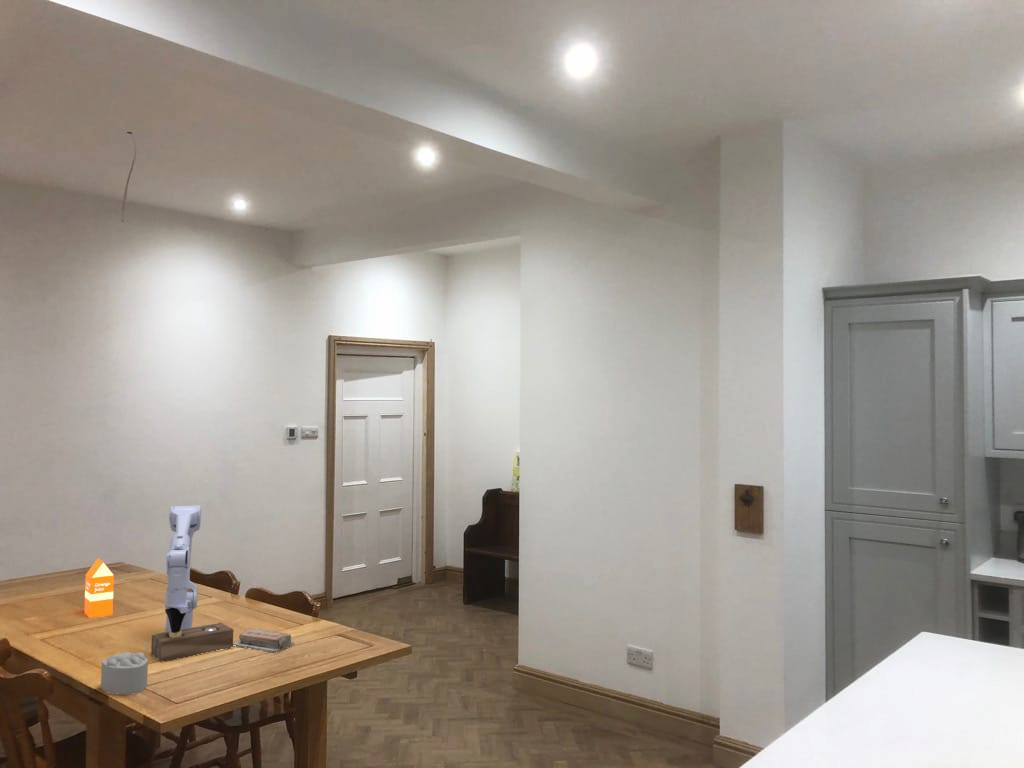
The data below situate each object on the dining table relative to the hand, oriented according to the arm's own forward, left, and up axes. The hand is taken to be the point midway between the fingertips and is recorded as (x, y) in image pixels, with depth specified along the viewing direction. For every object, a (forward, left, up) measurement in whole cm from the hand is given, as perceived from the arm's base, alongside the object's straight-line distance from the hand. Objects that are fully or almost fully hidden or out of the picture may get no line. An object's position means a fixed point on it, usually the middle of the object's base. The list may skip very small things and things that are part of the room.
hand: (175, 631), depth 241 cm
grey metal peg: (0, +11, -7) cm, 13 cm away
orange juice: (-66, -5, -7) cm, 67 cm away
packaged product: (+8, +25, -8) cm, 28 cm away
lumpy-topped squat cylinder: (+20, -20, -7) cm, 30 cm away
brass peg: (0, 0, -6) cm, 6 cm away
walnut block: (0, +6, -7) cm, 9 cm away
